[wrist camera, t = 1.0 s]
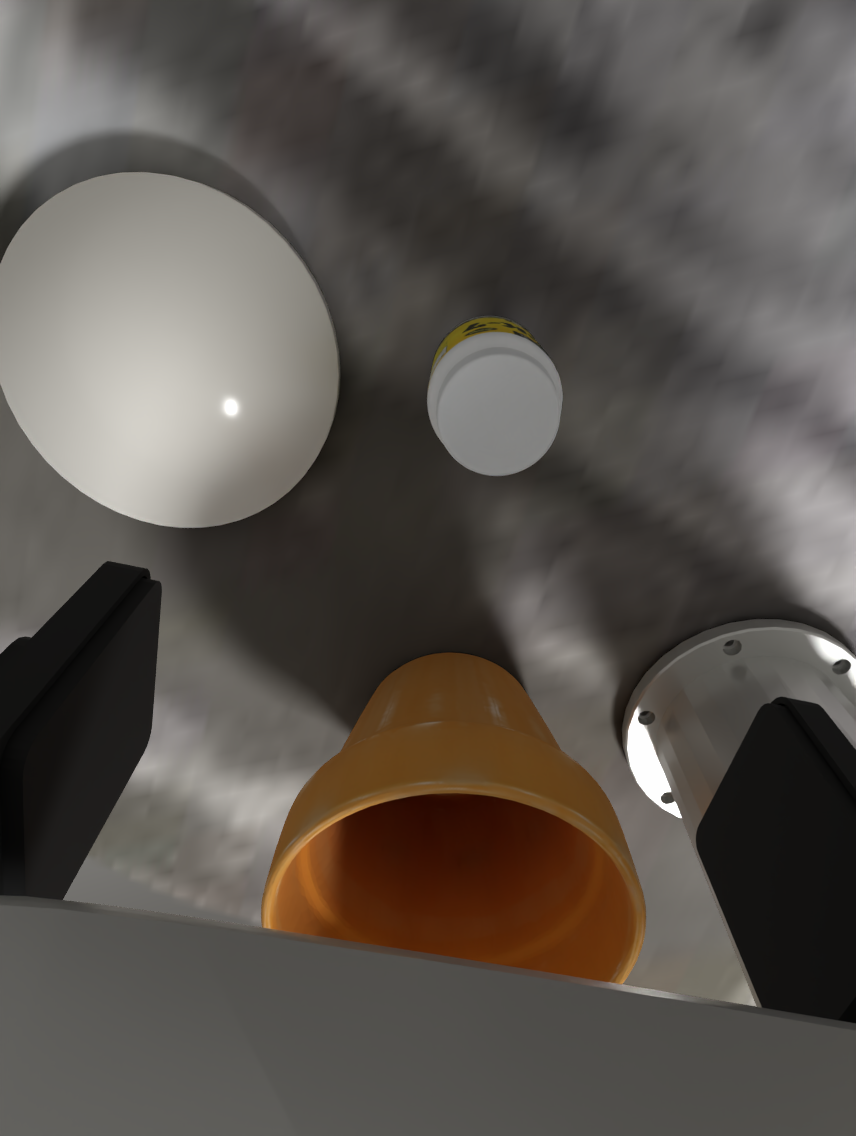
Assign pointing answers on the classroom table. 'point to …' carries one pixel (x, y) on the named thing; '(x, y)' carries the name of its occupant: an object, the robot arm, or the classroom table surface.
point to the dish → (166, 349)
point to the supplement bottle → (494, 396)
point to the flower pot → (459, 834)
